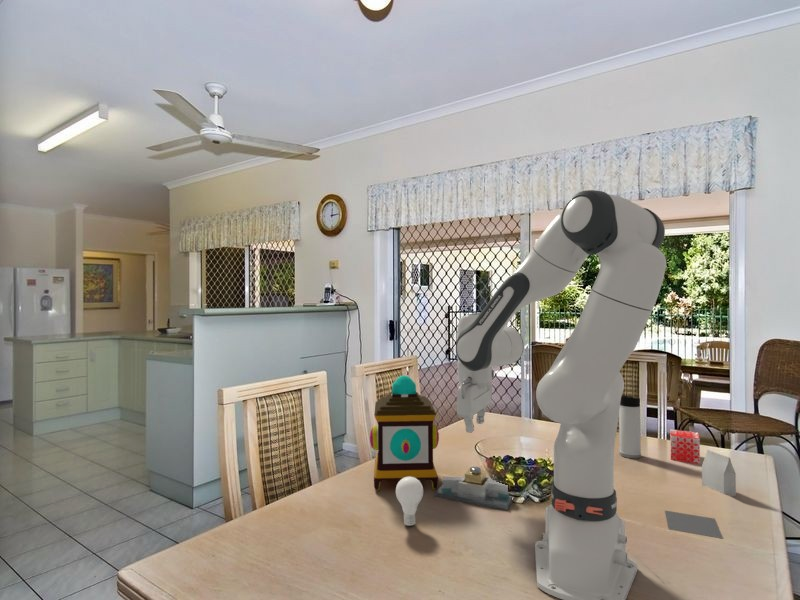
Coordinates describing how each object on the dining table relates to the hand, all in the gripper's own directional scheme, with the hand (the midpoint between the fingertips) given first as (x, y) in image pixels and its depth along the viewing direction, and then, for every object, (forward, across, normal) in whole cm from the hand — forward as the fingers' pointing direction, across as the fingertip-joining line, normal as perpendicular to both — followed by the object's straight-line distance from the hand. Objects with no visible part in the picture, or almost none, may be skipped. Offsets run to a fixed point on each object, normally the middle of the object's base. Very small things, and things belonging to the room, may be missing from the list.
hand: (475, 427), depth 122 cm
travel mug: (+18, +52, -37) cm, 66 cm away
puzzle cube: (+19, +57, -53) cm, 80 cm away
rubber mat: (+19, +4, -49) cm, 52 cm away
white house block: (+19, +30, -58) cm, 68 cm away
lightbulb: (+18, -22, +9) cm, 30 cm away
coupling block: (+17, 0, 0) cm, 17 cm away
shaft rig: (+18, 0, 0) cm, 18 cm away
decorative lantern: (+18, +3, +22) cm, 29 cm away
